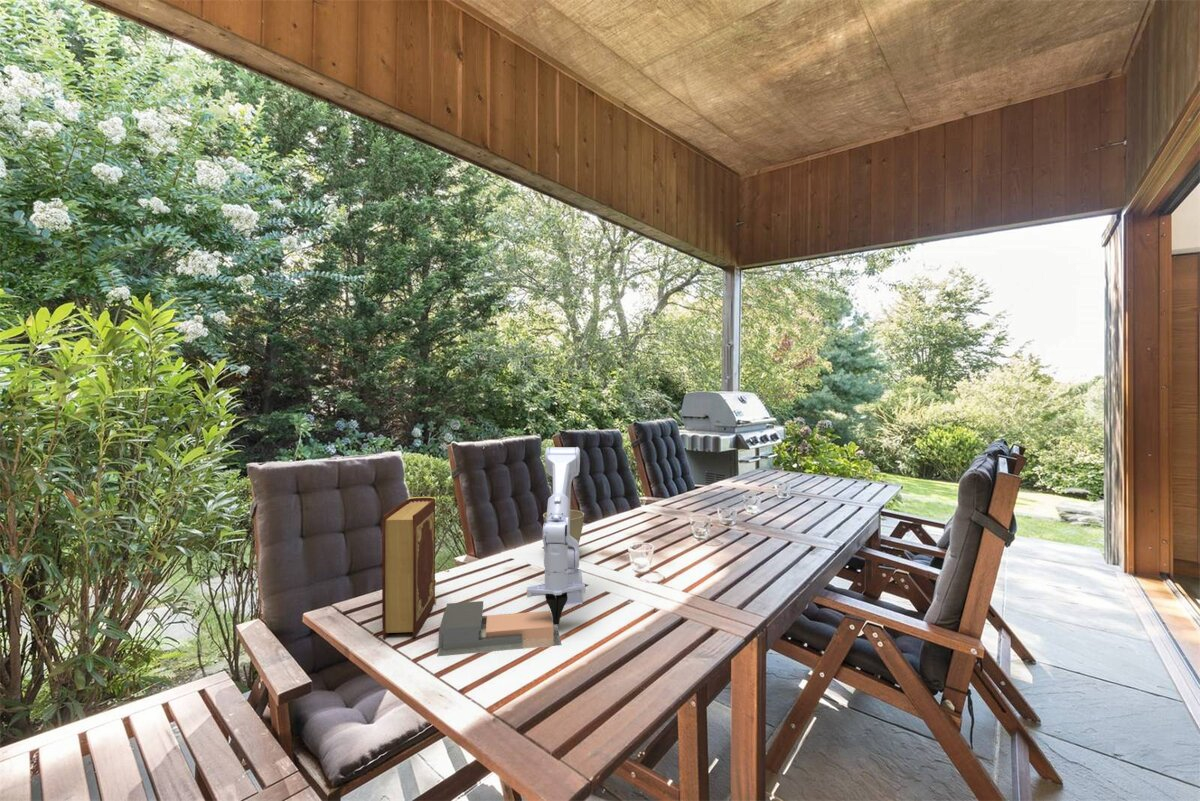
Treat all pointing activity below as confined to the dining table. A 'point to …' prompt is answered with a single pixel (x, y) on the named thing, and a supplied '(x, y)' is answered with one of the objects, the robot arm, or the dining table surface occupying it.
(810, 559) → the dining table surface
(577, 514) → the plant pot
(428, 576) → the decorative book
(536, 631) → the peach rectangular panel
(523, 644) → the dock
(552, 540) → the robot arm
